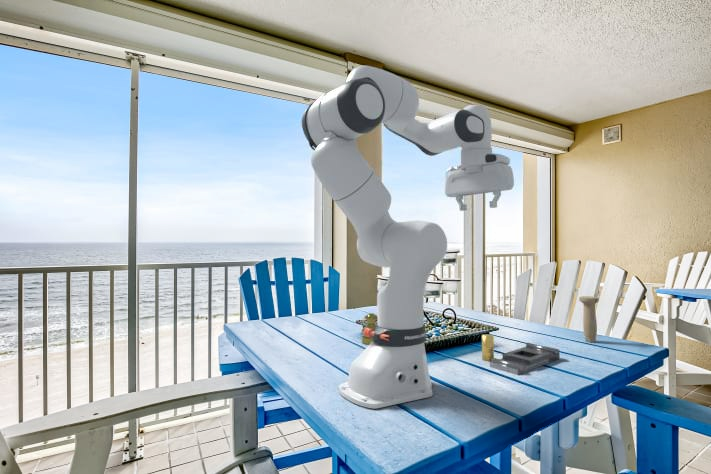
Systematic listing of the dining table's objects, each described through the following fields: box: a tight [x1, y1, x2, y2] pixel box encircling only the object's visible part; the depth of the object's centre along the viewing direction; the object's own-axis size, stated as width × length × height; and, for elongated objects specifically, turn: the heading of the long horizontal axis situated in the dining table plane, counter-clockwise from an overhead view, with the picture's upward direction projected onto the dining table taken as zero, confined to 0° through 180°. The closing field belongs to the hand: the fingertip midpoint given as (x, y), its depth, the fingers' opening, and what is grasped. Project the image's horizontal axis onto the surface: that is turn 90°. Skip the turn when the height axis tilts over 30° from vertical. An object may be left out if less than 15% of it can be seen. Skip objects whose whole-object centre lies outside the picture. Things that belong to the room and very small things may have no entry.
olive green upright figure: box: [360, 312, 377, 345], centre depth 127 cm, size 7×8×10 cm
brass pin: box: [481, 333, 495, 363], centre depth 105 cm, size 3×3×7 cm
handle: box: [578, 295, 600, 343], centre depth 124 cm, size 5×6×15 cm
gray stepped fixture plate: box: [489, 355, 549, 376], centre depth 100 cm, size 16×9×2 cm, turn 125°
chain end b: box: [502, 342, 561, 365], centre depth 103 cm, size 16×9×3 cm, turn 125°
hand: (477, 209), depth 106 cm, fingers open, 8 cm apart
